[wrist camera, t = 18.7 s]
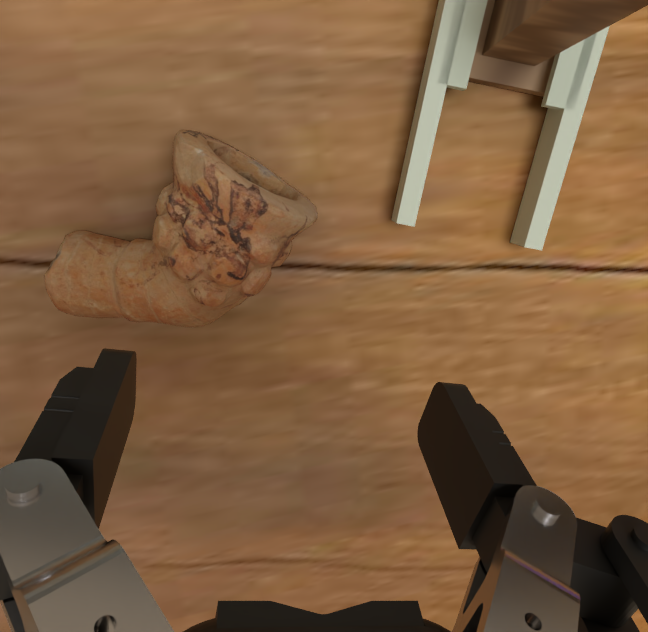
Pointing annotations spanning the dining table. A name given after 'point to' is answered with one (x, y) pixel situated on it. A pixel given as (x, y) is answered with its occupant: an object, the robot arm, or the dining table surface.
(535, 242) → the grey u-shaped bracket
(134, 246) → the clay pipe
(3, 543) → the robot arm
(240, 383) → the dining table surface
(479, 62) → the walnut slider
